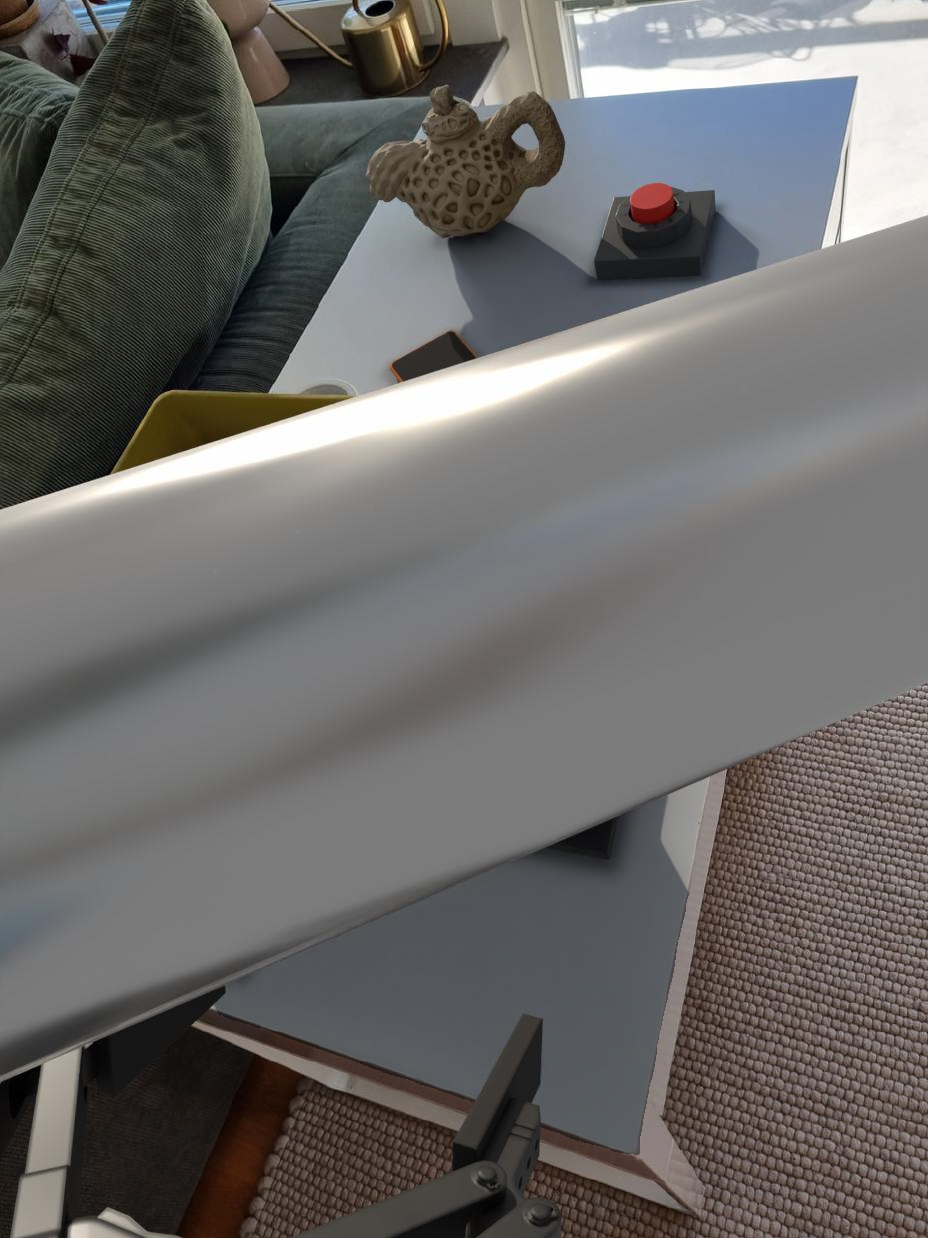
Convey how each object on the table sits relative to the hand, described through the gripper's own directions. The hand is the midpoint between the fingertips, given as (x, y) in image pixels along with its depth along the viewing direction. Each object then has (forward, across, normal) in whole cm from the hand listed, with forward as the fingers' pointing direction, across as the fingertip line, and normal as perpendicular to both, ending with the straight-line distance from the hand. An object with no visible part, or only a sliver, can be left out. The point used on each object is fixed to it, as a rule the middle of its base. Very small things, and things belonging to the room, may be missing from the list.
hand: (364, 1001), depth 36 cm
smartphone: (+55, -19, +23) cm, 63 cm away
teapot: (+74, -24, +41) cm, 88 cm away
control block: (+70, -4, +38) cm, 80 cm away
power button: (+68, -4, +40) cm, 79 cm away
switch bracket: (+30, 0, -2) cm, 30 cm away
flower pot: (+37, -25, +4) cm, 45 cm away
